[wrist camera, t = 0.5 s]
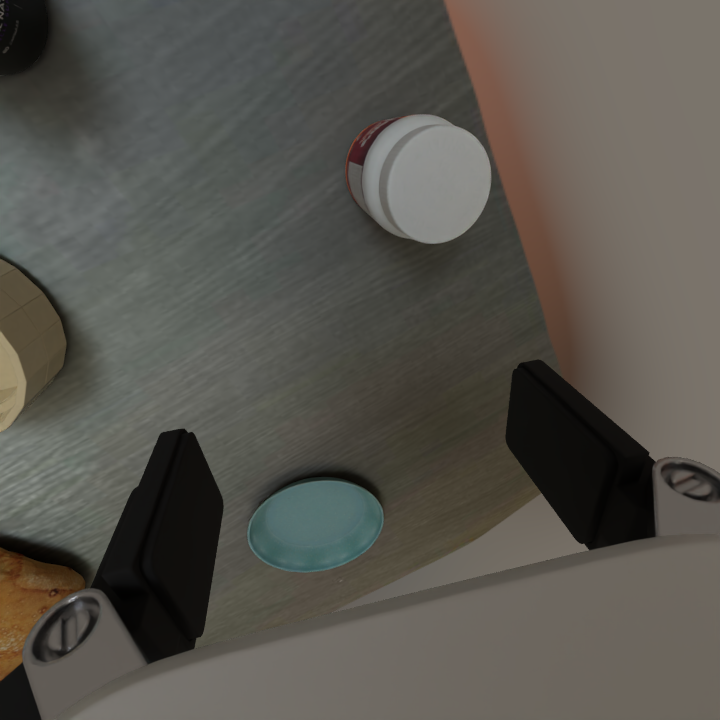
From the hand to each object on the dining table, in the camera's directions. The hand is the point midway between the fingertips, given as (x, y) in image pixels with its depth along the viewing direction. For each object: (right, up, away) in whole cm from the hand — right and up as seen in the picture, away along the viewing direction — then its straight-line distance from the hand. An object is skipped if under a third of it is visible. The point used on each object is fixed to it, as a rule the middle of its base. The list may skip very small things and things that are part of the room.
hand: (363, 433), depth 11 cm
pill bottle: (+2, +16, +16) cm, 23 cm away
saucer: (-5, -15, +33) cm, 36 cm away
